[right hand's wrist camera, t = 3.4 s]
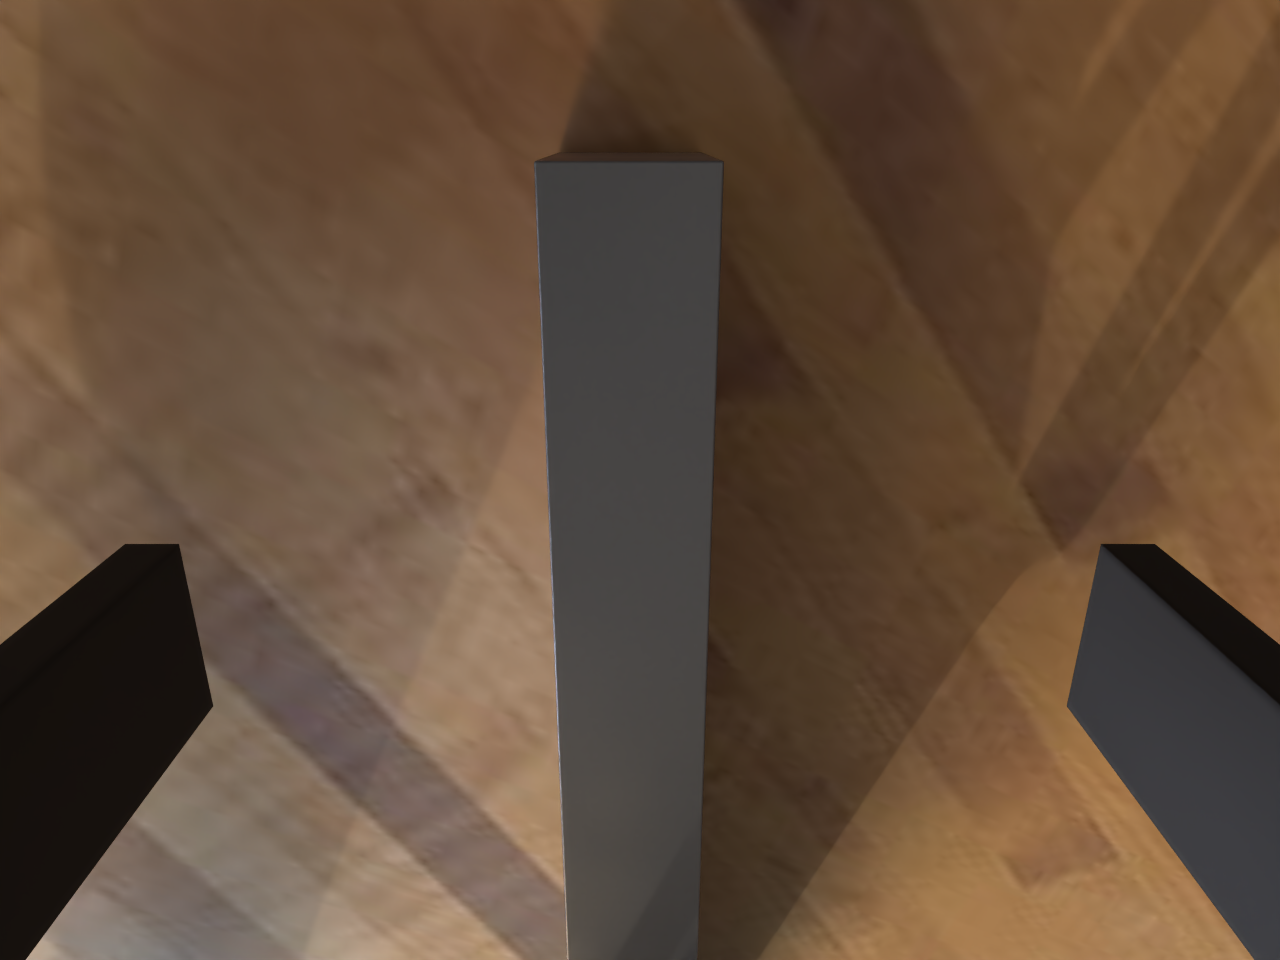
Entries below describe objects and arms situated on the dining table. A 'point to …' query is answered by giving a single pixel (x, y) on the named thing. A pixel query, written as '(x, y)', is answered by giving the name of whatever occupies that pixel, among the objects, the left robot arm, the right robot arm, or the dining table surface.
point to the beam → (630, 531)
